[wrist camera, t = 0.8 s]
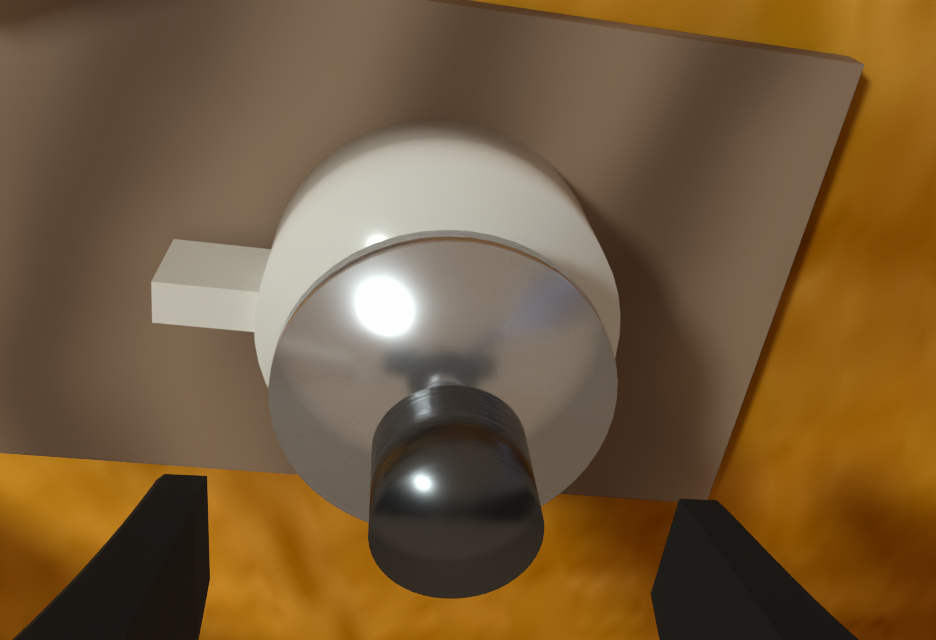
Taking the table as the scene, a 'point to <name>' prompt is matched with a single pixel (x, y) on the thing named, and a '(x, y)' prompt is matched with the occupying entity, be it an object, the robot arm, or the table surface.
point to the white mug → (386, 226)
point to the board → (344, 119)
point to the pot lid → (444, 401)
